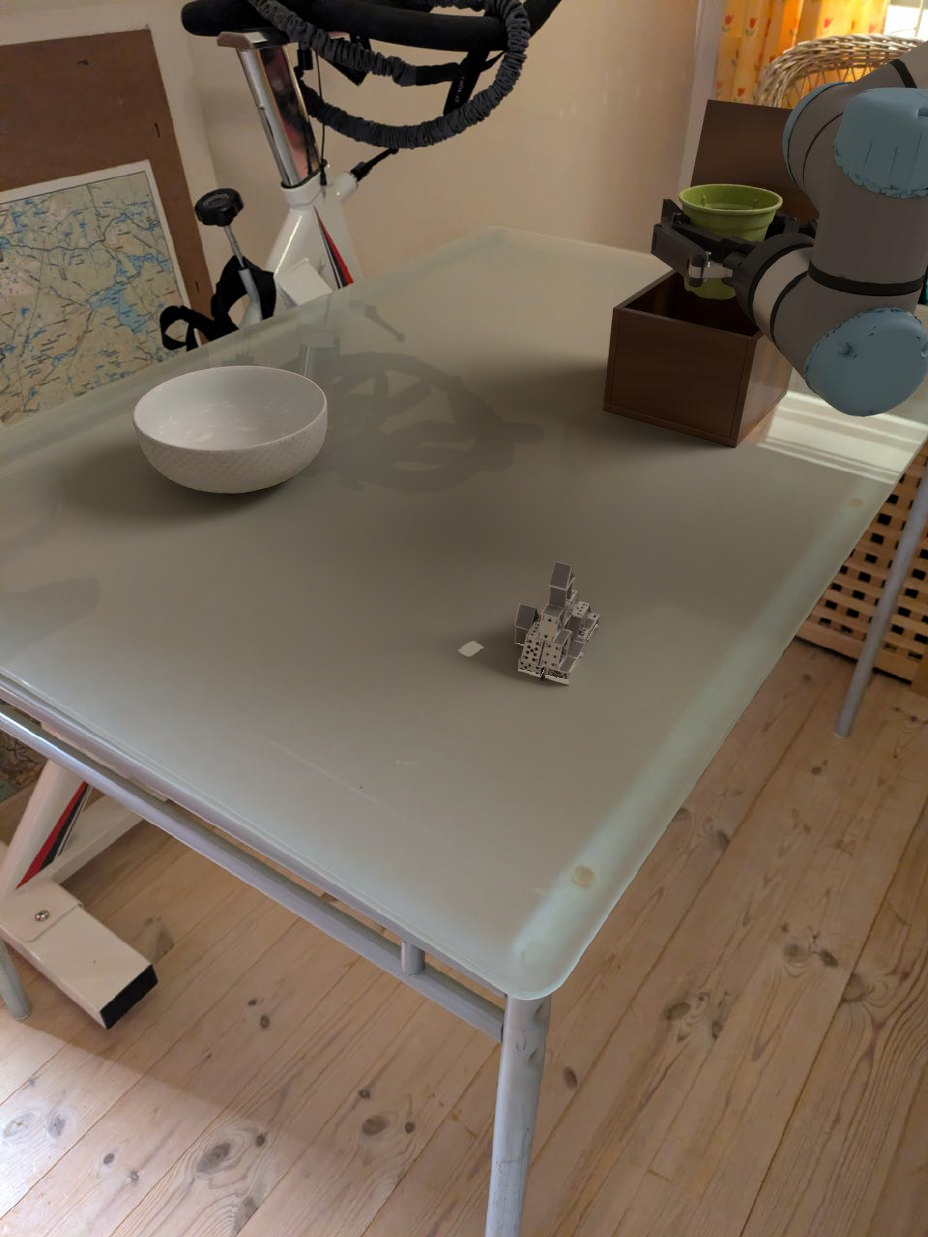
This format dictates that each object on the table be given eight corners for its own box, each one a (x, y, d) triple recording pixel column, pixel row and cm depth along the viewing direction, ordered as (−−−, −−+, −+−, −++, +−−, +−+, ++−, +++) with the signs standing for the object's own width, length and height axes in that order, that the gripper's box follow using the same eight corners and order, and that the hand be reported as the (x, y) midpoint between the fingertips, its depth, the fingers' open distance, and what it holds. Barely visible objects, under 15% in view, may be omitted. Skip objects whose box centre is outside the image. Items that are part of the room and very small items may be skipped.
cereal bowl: (172, 540, 80) (155, 465, 76) (130, 453, 92) (114, 385, 87) (360, 492, 86) (354, 421, 82) (298, 417, 98) (291, 351, 93)
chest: (735, 447, 93) (757, 341, 86) (602, 409, 99) (612, 307, 92) (786, 393, 102) (809, 293, 95) (662, 362, 109) (675, 266, 102)
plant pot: (662, 302, 91) (675, 206, 85) (669, 270, 98) (682, 180, 92) (764, 311, 89) (783, 213, 83) (763, 277, 96) (781, 186, 91)
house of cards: (502, 587, 75) (504, 503, 70) (607, 616, 72) (617, 531, 67) (453, 654, 69) (452, 567, 64) (567, 689, 66) (575, 601, 61)
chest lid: (856, 116, 87) (859, 116, 88) (707, 98, 94) (710, 99, 94) (809, 289, 95) (811, 289, 95) (674, 262, 101) (677, 262, 102)
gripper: (660, 344, 77) (600, 254, 95) (909, 334, 79) (805, 248, 96) (673, 249, 72) (608, 173, 90) (938, 241, 74) (823, 168, 92)
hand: (710, 212), depth 93 cm, fingers closed on plant pot, 8 cm apart
